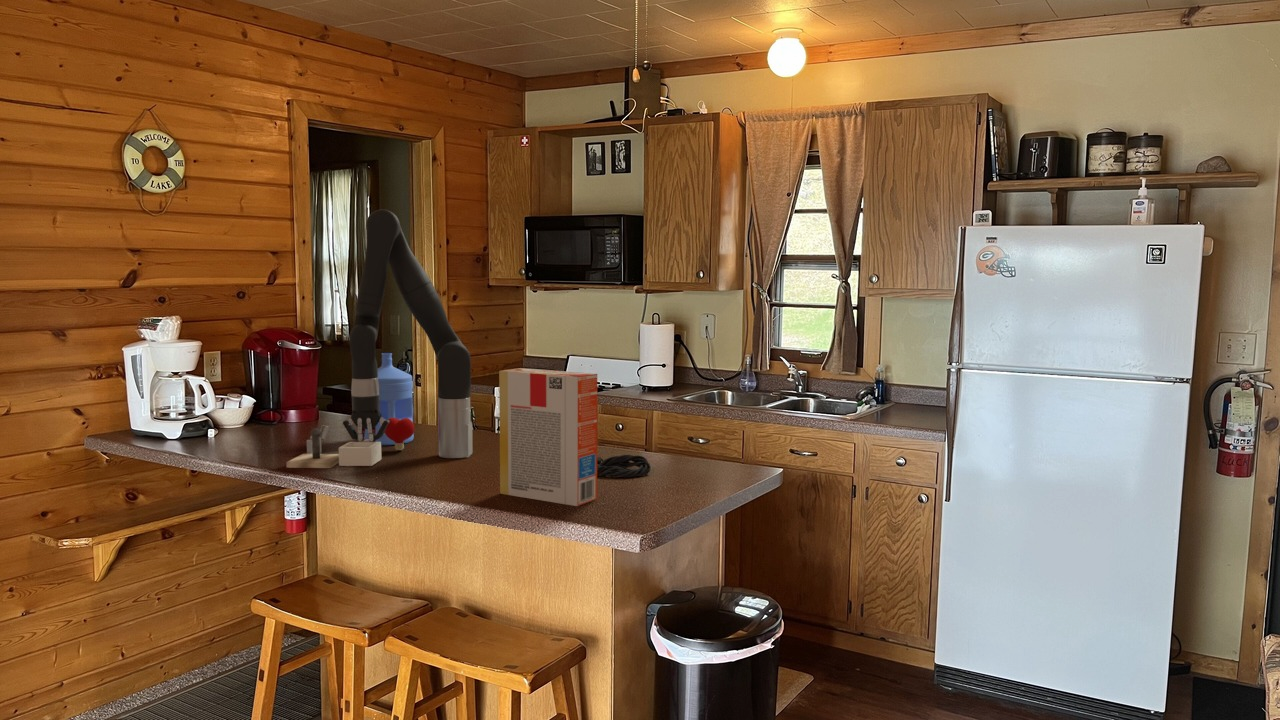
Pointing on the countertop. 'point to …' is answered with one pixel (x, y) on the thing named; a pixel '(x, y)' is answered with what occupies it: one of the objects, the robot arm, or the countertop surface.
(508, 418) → the pasta box
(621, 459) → the cable
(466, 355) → the robot arm
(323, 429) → the lighter
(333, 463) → the beige peg base
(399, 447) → the red heart
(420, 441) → the countertop surface
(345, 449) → the white square frame
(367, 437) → the water jug
